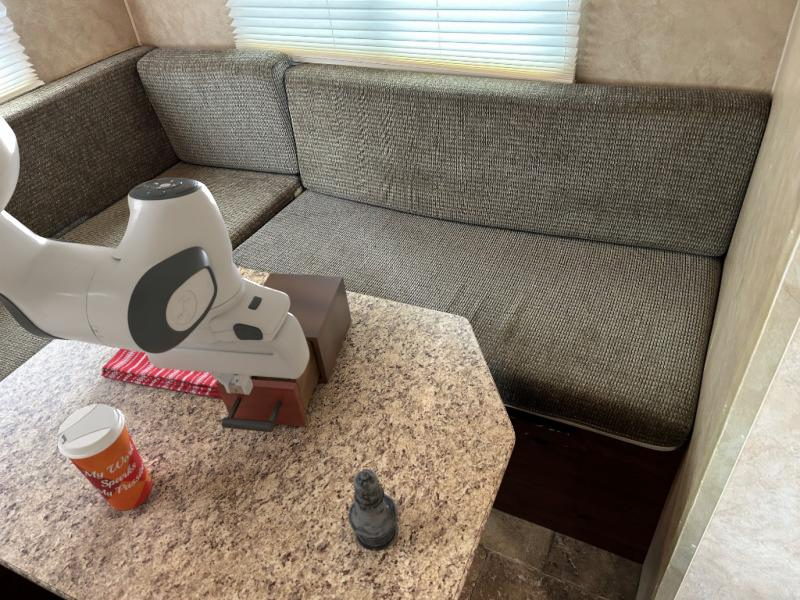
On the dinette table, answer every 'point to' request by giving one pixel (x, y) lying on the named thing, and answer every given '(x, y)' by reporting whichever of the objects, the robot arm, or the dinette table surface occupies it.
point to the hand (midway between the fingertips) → (240, 390)
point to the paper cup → (105, 455)
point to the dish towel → (158, 374)
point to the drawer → (272, 400)
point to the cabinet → (317, 313)
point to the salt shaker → (372, 513)
